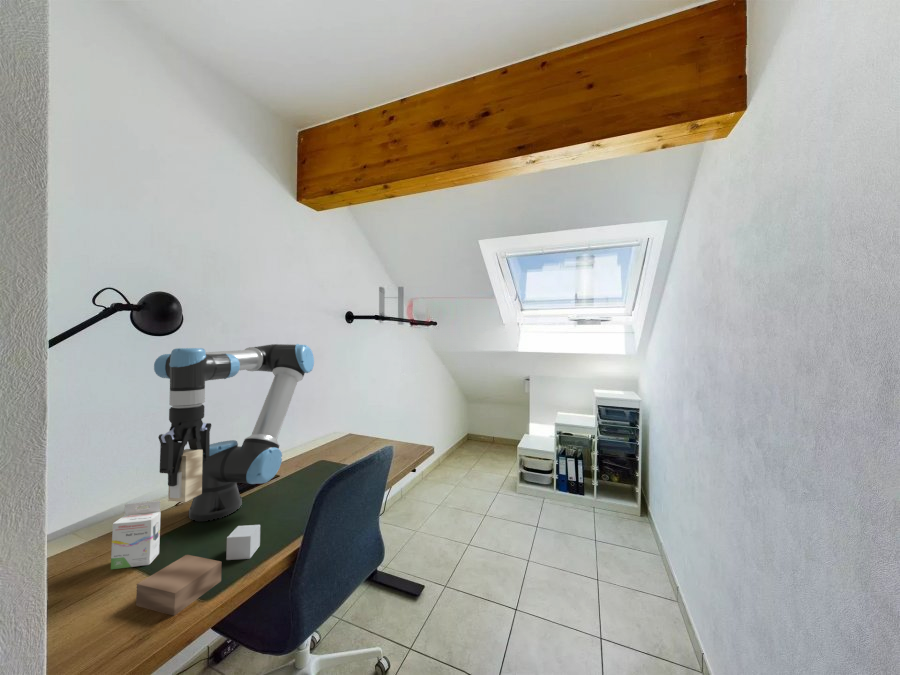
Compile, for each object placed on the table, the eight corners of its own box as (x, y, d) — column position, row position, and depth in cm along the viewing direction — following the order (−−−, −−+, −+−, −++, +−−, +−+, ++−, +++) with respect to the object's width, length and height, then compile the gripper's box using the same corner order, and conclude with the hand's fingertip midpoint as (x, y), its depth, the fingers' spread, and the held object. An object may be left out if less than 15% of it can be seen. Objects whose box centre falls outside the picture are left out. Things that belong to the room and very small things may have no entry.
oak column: (185, 492, 93) (186, 448, 93) (201, 493, 93) (202, 449, 93) (168, 500, 88) (169, 454, 89) (185, 502, 88) (186, 455, 88)
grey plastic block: (237, 547, 96) (238, 525, 97) (259, 545, 97) (260, 524, 97) (226, 560, 90) (226, 537, 91) (250, 558, 91) (250, 536, 91)
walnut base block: (186, 574, 85) (186, 554, 85) (221, 582, 82) (221, 561, 82) (136, 607, 74) (136, 583, 75) (174, 617, 72) (175, 593, 72)
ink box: (108, 570, 86) (111, 511, 86) (122, 559, 91) (124, 503, 91) (149, 565, 88) (151, 507, 89) (160, 553, 93) (162, 499, 93)
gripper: (203, 399, 100) (202, 478, 100) (140, 411, 82) (138, 507, 82) (226, 400, 99) (225, 479, 99) (167, 412, 81) (164, 509, 81)
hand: (185, 492), depth 90 cm, fingers closed on oak column, 5 cm apart
